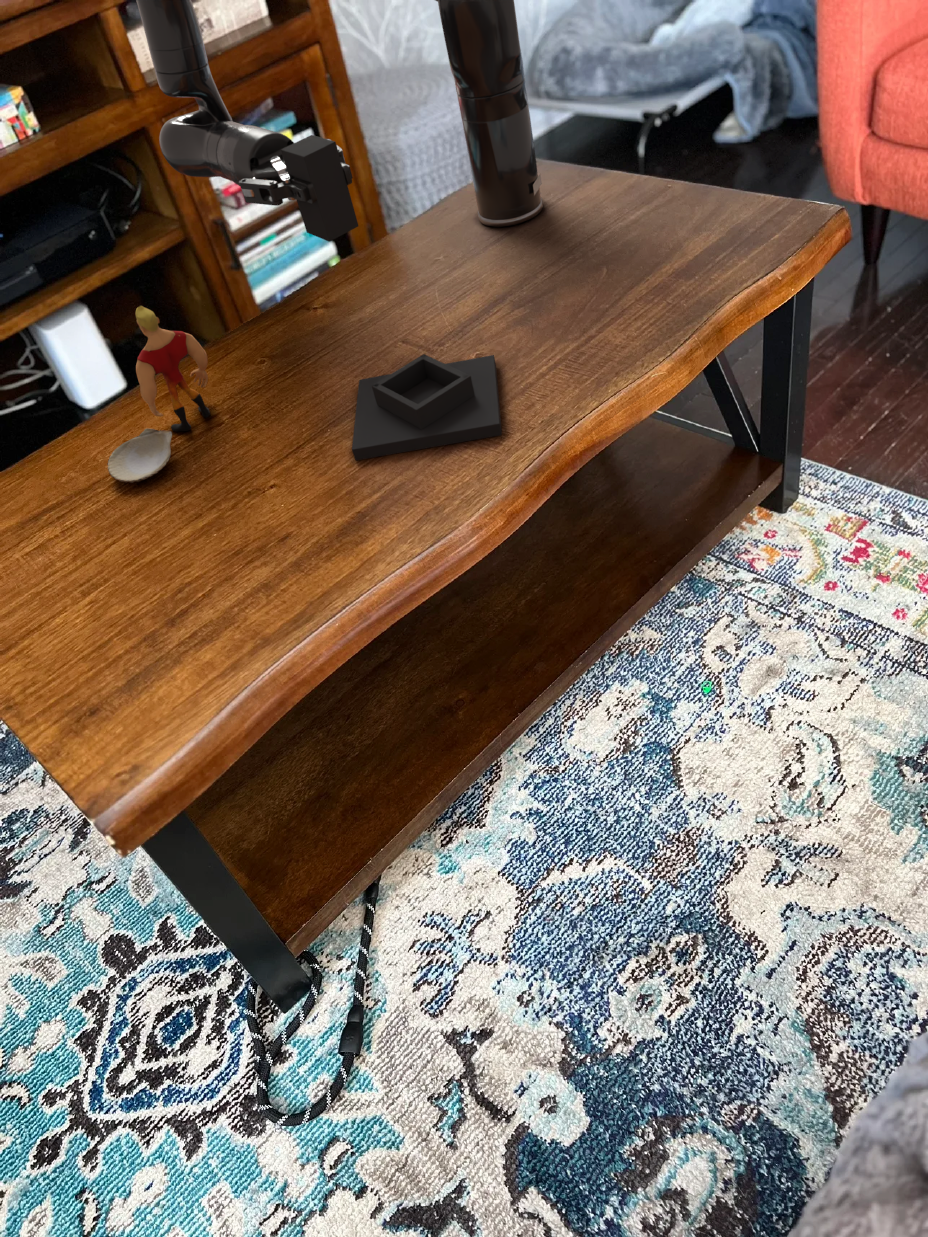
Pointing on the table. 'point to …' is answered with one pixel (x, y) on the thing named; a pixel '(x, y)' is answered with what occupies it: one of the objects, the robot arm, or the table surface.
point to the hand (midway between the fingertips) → (330, 184)
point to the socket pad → (440, 432)
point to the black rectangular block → (322, 187)
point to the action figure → (169, 365)
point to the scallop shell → (141, 456)
